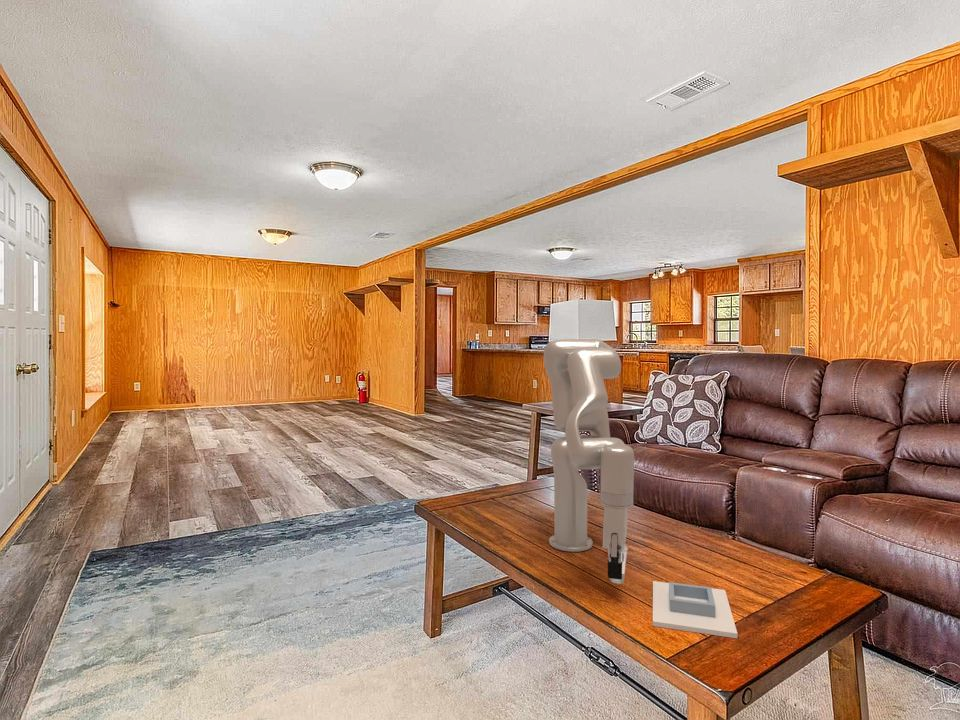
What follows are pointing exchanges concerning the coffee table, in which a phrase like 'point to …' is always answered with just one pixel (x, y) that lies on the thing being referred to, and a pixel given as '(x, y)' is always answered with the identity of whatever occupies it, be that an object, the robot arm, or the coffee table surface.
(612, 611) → the coffee table surface
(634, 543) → the coffee table surface
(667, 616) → the dock
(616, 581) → the milkshake
